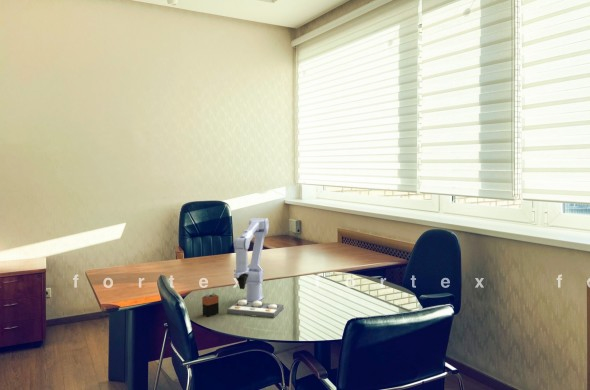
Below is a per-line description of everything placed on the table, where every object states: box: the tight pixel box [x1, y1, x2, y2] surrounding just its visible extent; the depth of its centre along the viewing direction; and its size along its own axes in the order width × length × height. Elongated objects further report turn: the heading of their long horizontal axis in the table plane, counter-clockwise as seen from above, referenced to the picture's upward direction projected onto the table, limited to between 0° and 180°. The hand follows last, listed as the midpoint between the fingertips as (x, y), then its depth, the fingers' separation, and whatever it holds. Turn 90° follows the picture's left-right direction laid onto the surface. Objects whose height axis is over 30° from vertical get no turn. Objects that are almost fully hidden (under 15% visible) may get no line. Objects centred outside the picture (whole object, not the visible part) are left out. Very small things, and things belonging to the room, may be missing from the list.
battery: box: [201, 292, 220, 318], centre depth 230 cm, size 4×7×10 cm, turn 135°
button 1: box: [237, 299, 248, 306], centre depth 239 cm, size 4×4×2 cm
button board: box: [227, 301, 284, 319], centre depth 235 cm, size 14×24×2 cm, turn 73°
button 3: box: [268, 303, 277, 309], centre depth 235 cm, size 4×4×2 cm
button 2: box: [253, 300, 263, 308], centre depth 237 cm, size 4×4×2 cm
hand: (242, 288), depth 239 cm, fingers closed
